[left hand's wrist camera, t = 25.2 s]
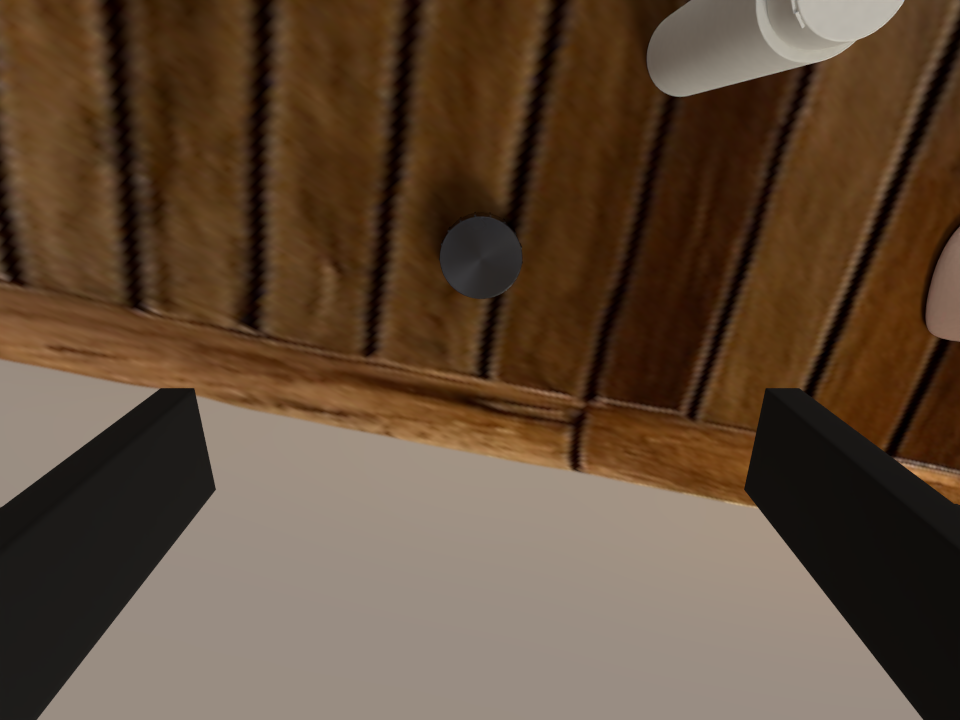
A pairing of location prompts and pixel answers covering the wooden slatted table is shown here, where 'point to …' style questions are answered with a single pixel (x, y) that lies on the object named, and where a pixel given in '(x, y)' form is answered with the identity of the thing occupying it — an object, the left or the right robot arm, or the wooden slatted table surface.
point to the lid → (481, 255)
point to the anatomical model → (945, 293)
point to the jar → (754, 39)
